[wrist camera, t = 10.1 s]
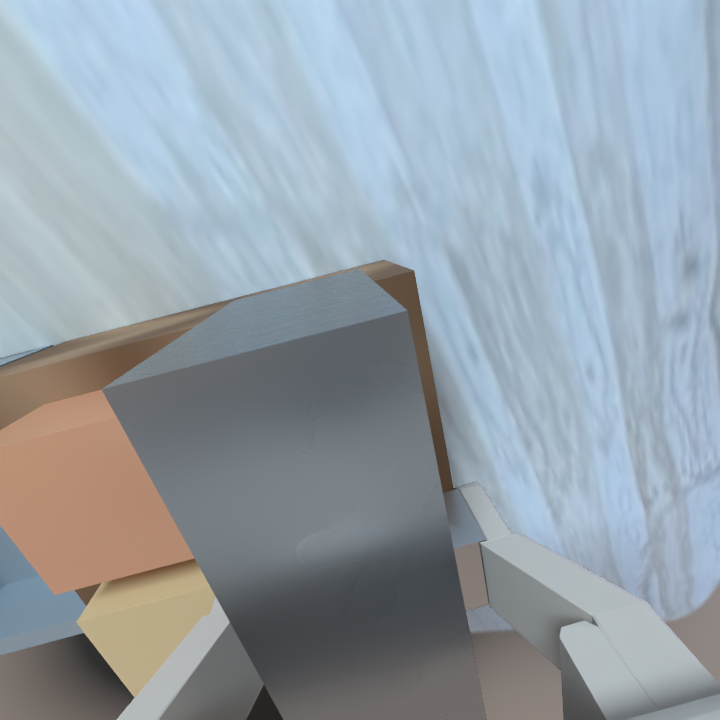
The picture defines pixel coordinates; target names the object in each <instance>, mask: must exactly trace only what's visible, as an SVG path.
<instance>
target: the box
mask: <svg viewBox="0 0 720 720" xmlns="http://www.w3.org/2000/svg"><path fill="white" fill-rule="evenodd" d="M51 347H53V345H51V346H47V347H43V348H39V349H35V350H31V351H27V352H23V353H19V354H15V355H12V356H8V357H4V358H0V367H2V366H5V365H7V364H10V363H12V362H15V361H17V360H20V359H23V358H25V357H28V356H30V355H33V354H35V353H38V352H40V351H43V350H45V349H48V348H51ZM85 608H86V605H85V604H84V603H83V601H82V600H81V599H80V597H79V596H78V595H77V593H76V592H75V591H74V590H73V591H69V592H65V593H61V594H57V595H54V593H53V592H52V591H51V590H50V588H49V587H48V586H47V585H46V583H45V582H44V581H43V579H42V578H41V577H40V576H39V574H38V573H37V572H36V570H35V569H34V568H33V567H32V565H31V564H30V563H29V561H28V560H27V559H26V558H25V556H24V555H23V554H22V552H21V551H20V550H19V549H18V547H17V546H16V545H15V543H14V542H13V541H12V540H11V538H10V537H9V536H8V535H7V533H6V532H5V531H4V529H3V528H2V527H1V526H0V655H2V654H6V653H10V652H13V651H17V650H21V649H24V648H28V647H32V646H36V645H40V644H44V643H47V642H51V641H55V640H59V639H62V638H66V637H70V636H74V635H77V634H81V633H84V632H83V631H82V629H81V628H80V627H79V626H78V624H77V623H76V622H77V620H78V619H79V617H80V616H81V614H82V612H83V611H84V609H85Z"/></svg>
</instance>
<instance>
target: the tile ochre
mask: <svg viewBox="0 0 720 720" xmlns="http://www.w3.org/2000/svg"><path fill="white" fill-rule="evenodd" d="M214 599H215V594H214V593H213V591H212V589H211V587H210V585H209V584H208V582H207V580H206V578H205V576H204V574H203V573H202V571H201V569H200V567H199V565H198V564H197V562H196V560H195V558H194V559H190V560H186V561H183V562H179V563H175V564H171V565H168V566H164V567H160V568H156V569H152V570H149V571H145V572H141V573H137V574H133V575H130V576H126V577H122V578H118V579H114V580H111V581H107V582H103V583H101V585H100V586H99V588H98V589H97V591H96V592H95V594H94V596H93V597H92V599H91V600H90V602H89V603H88V605H87V606H86V608H85V609H84V611H83V612H82V614H81V616H80V617H79V619H78V620H77V622H76V623H77V624H78V626H79V627H80V628H81V629H82V631H83V632H84V633H85V634H86V636H87V637H88V638H89V640H90V641H91V642H92V643H93V645H94V646H95V647H96V649H97V650H98V651H99V652H100V654H101V655H102V656H103V657H104V659H105V660H106V661H107V663H108V664H109V665H110V666H111V668H112V669H113V670H114V671H115V673H116V674H117V675H118V677H119V678H120V679H121V681H122V682H123V683H124V684H125V686H126V687H127V688H128V690H129V691H130V692H131V693H132V695H133V696H134V697H136V696H137V695H138V693H139V692H140V691H141V690H142V689H143V687H144V686H145V685H146V684H147V683H148V681H149V680H150V679H151V678H152V677H153V675H154V674H155V673H156V672H157V671H158V669H159V668H160V667H161V666H162V665H163V663H164V662H165V661H166V660H167V659H168V658H169V656H170V655H171V654H172V653H173V652H174V650H175V649H176V648H177V647H178V646H179V644H180V643H181V642H182V641H183V640H184V638H185V637H186V636H187V635H188V634H189V632H190V631H191V630H192V629H193V628H194V626H195V625H196V624H197V623H198V622H199V620H200V619H201V618H202V617H203V616H205V615H208V614H210V612H211V609H212V606H213V602H214Z"/></svg>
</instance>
